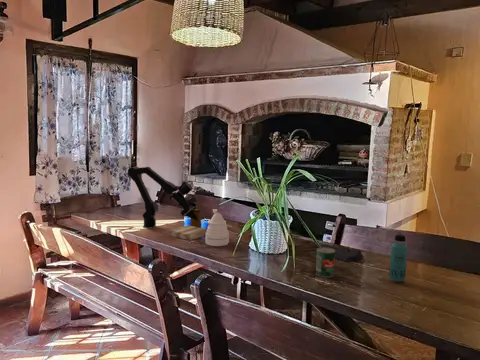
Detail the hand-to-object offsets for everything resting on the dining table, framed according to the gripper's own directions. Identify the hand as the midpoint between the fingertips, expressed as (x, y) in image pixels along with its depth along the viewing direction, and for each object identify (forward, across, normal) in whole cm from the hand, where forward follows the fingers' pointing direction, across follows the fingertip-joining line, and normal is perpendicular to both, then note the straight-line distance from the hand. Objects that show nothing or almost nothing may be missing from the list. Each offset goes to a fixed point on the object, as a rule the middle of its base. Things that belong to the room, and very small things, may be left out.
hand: (198, 218), depth 256 cm
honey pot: (+17, -27, -7) cm, 32 cm away
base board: (+3, -14, +6) cm, 16 cm away
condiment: (+4, -1, +6) cm, 7 cm away
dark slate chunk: (+63, -36, -52) cm, 89 cm away
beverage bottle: (+77, -69, -68) cm, 123 cm away
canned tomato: (+56, -66, -47) cm, 98 cm away
